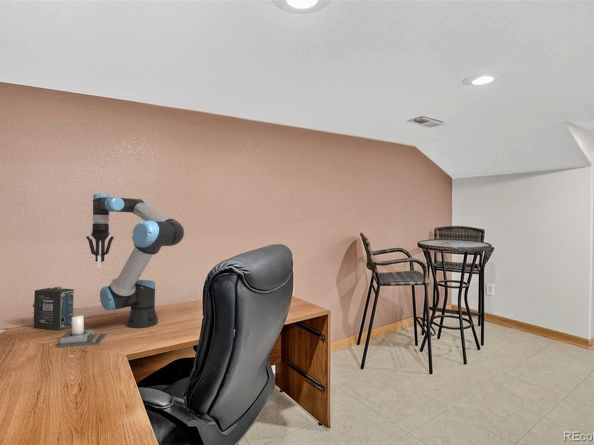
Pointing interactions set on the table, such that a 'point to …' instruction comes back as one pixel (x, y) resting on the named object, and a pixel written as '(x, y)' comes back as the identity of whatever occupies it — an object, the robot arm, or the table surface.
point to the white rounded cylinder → (77, 325)
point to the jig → (81, 339)
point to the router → (53, 308)
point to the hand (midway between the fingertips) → (99, 267)
